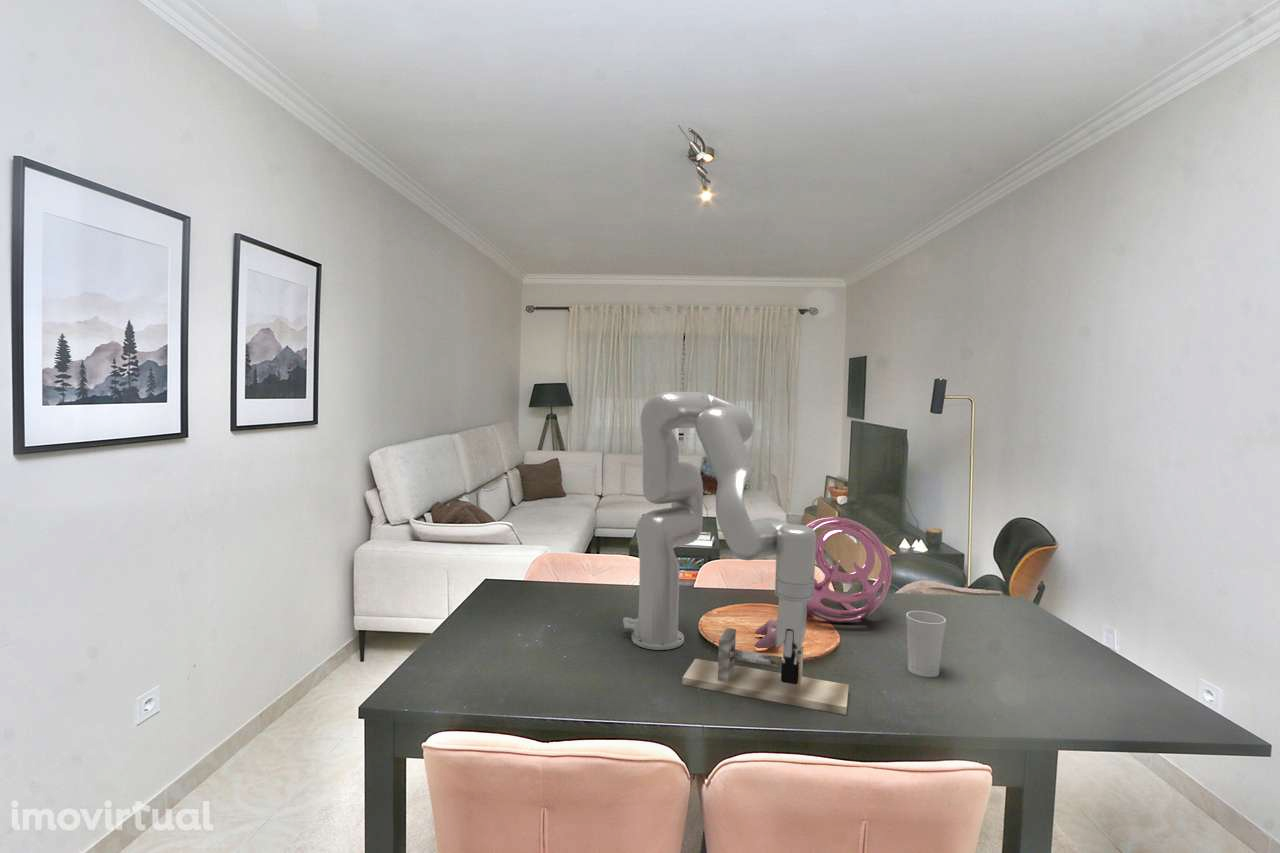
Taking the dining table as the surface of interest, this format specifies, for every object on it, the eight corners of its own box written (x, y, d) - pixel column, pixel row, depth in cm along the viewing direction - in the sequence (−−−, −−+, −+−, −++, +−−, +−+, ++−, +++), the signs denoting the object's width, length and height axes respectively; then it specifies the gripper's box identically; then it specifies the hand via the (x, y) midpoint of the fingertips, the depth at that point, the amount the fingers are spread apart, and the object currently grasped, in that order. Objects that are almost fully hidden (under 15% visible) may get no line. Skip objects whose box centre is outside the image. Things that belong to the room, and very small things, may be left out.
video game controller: (770, 660, 148) (784, 635, 147) (752, 649, 149) (767, 624, 148) (769, 643, 158) (783, 620, 157) (753, 634, 158) (767, 610, 158)
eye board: (682, 684, 131) (683, 636, 131) (695, 665, 141) (696, 620, 140) (846, 715, 120) (848, 663, 120) (848, 691, 130) (850, 643, 129)
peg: (720, 670, 132) (720, 641, 131) (724, 662, 135) (725, 634, 135) (800, 684, 126) (801, 654, 126) (802, 675, 130) (803, 646, 130)
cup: (941, 666, 143) (943, 613, 142) (945, 681, 136) (948, 625, 135) (902, 660, 146) (905, 608, 145) (904, 675, 138) (907, 620, 138)
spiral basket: (791, 526, 196) (804, 487, 172) (885, 556, 189) (912, 520, 165) (766, 613, 183) (776, 584, 160) (866, 648, 176) (892, 623, 153)
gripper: (781, 574, 137) (778, 658, 138) (768, 597, 121) (765, 692, 122) (817, 578, 134) (814, 664, 135) (809, 603, 118) (805, 699, 120)
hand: (790, 676), depth 129 cm, fingers closed on peg, 4 cm apart
